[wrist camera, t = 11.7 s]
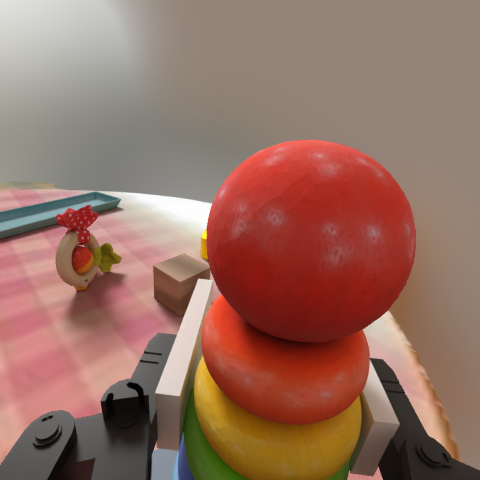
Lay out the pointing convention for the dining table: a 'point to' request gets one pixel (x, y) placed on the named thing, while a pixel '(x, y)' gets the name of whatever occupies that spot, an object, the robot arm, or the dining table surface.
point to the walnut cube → (178, 281)
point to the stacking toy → (293, 312)
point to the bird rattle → (81, 249)
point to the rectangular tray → (50, 212)
